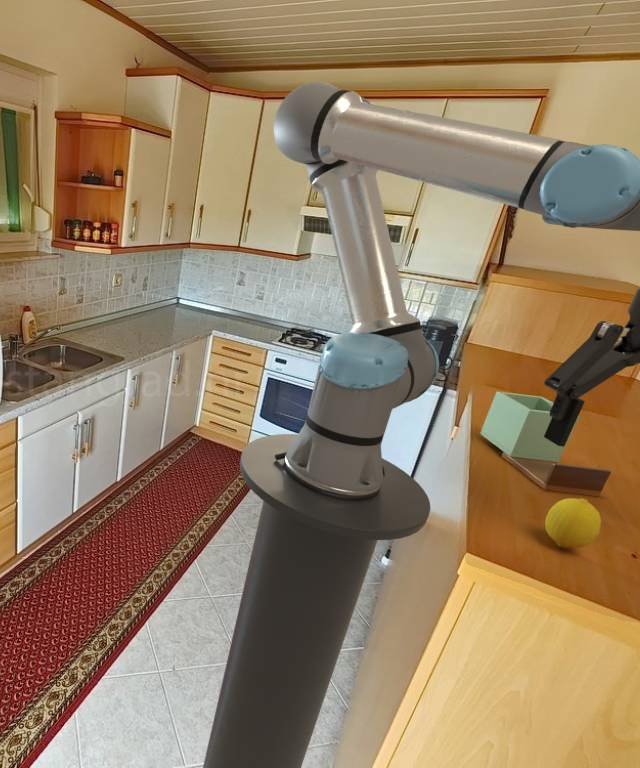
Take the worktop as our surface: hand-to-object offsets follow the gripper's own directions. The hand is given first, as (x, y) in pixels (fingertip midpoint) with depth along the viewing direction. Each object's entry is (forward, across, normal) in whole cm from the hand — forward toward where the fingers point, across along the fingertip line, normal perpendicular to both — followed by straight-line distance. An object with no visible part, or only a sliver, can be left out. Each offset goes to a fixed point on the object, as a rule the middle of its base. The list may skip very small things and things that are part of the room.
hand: (605, 447), depth 65 cm
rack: (+16, +14, +22) cm, 30 cm away
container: (+14, +14, +31) cm, 37 cm away
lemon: (+16, -1, -1) cm, 16 cm away
